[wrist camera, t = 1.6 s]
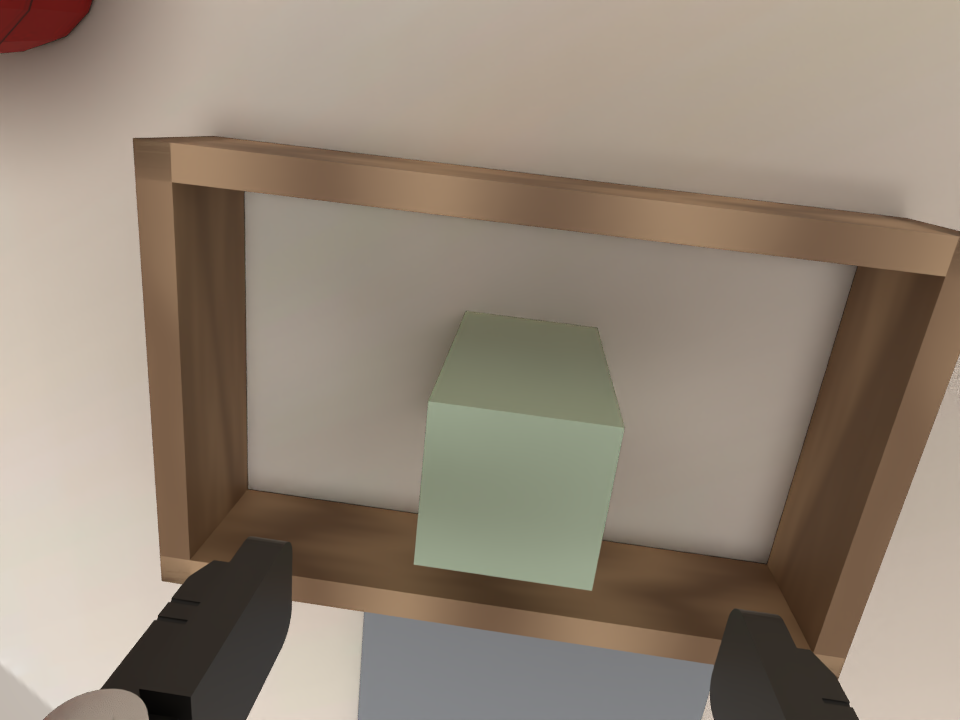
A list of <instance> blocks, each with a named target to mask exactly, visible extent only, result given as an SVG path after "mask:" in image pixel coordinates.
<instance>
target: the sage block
mask: <svg viewBox="0 0 960 720" xmlns="http://www.w3.org/2000/svg"><path fill="white" fill-rule="evenodd" d="M623 433H624V424H623V420H622V417H621V413H620V409H619V406H618V402H617V398H616V395H615V391H614V387H613V384H612V380H611V376H610V373H609V369H608V365H607V362H606V358H605V354H604V351H603V347H602V344H601V340H600V336H599V333H598V329H597V328H594V327H586V326H579V325H571V324H563V323H555V322H548V321H540V320H532V319H524V318H517V317H509V316H501V315H493V314H486V313H478V312H470V311H466V312H465V315H464V317H463V319H462V322H461V324H460V327H459V329H458V331H457V334H456V336H455V338H454V341H453V343H452V346H451V348H450V350H449V353H448V355H447V358H446V360H445V362H444V365H443V367H442V370H441V372H440V374H439V377H438V379H437V381H436V384H435V386H434V389H433V391H432V393H431V396H430V398H429V401H428V409H427V420H426V432H425V443H424V454H423V466H422V477H421V488H420V499H419V511H418V522H417V533H416V544H415V556H414V565H420V566H427V567H434V568H441V569H448V570H454V571H461V572H468V573H475V574H481V575H488V576H495V577H502V578H508V579H515V580H522V581H529V582H536V583H542V584H549V585H556V586H563V587H569V588H576V589H583V590H590V591H592V588H593V583H594V578H595V573H596V568H597V563H598V558H599V553H600V548H601V543H602V538H603V533H604V528H605V523H606V518H607V513H608V508H609V503H610V498H611V493H612V488H613V483H614V478H615V473H616V468H617V463H618V458H619V453H620V448H621V443H622V438H623Z"/></svg>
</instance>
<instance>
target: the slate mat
mask: <svg viewBox="0 0 960 720" xmlns="http://www.w3.org/2000/svg"><path fill="white" fill-rule="evenodd" d="M713 668H714V665H712V664H705V663H698V662H692V661H685V660H679V659H672V658H665V657H659V656H652V655H646V654H639V653H633V652H626V651H619V650H613V649H606V648H600V647H593V646H586V645H580V644H573V643H567V642H560V641H554V640H547V639H540V638H534V637H527V636H521V635H514V634H507V633H501V632H494V631H488V630H481V629H475V628H468V627H461V626H455V625H448V624H442V623H435V622H428V621H422V620H415V619H409V618H402V617H395V616H389V615H382V614H376V613H369V612H364V625H363V641H362V658H361V674H360V691H359V707H358V720H701V719H702V715H703V712H704V709H705V705H706V702H707V698H708V695H709V691H710V682H711V676H712V672H713Z"/></svg>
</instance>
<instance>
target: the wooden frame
mask: <svg viewBox="0 0 960 720" xmlns="http://www.w3.org/2000/svg"><path fill="white" fill-rule="evenodd" d="M133 148H134V164H135V179H136V194H137V210H138V225H139V240H140V255H141V271H142V286H143V301H144V317H145V332H146V347H147V362H148V378H149V393H150V408H151V424H152V439H153V454H154V469H155V485H156V500H157V515H158V531H159V546H160V561H161V576H162V581H165V582H172V583H178V584H183V583H184V582H185V580H186V579H187V578H188V577H189V576H190V575H192V574H193V573H195V572H196V571H198V570H199V569H201V568H203V567H204V566H206V565H207V564H209V563H210V562H212V561H213V560H217V561H224V562H230V561H231V559H232V558H233V556H234V555H235V554H236V552H237V551H238V549H239V548H240V547H241V545H242V544H243V542H244V541H245V540H246V539H247V538H248V537H250V536H254V537H260V538H267V539H274V540H281V541H288V542H290V543H291V545H292V551H293V558H292V601H297V602H303V603H310V604H316V605H323V606H330V607H336V608H343V609H349V610H356V611H363V612H369V613H376V614H382V615H389V616H395V617H402V618H409V619H415V620H422V621H428V622H435V623H442V624H448V625H455V626H461V627H468V628H475V629H481V630H488V631H494V632H501V633H507V634H514V635H521V636H527V637H534V638H540V639H547V640H554V641H560V642H567V643H573V644H580V645H586V646H593V647H600V648H606V649H613V650H619V651H626V652H633V653H639V654H646V655H652V656H659V657H665V658H672V659H679V660H685V661H692V662H698V663H705V664H712V665H715V661H716V658H717V654H718V651H719V648H720V644H721V641H722V637H723V634H724V630H725V627H726V624H727V620H728V617H729V615H730V613H731V611H732V610H733V609H735V608H737V609H743V610H750V611H757V612H764V613H771V614H777V615H779V616H780V617H781V618H782V619H783V621H784V623H785V625H786V627H787V629H788V631H789V633H790V635H791V637H792V639H793V641H794V643H795V645H796V647H797V648H801V649H808V650H811V651H812V652H813V653H814V654H815V655H816V656H817V657H818V658H819V659H820V660H821V661H822V662H823V663H824V664H825V665H826V666H827V667H828V668H829V669H830V670H831V671H832V672H833V673H834V674H835V676H836V678H837V680H838V678H839V675H840V673H841V670H842V667H843V665H844V662H845V659H846V657H847V654H848V651H849V648H850V646H851V643H852V640H853V638H854V635H855V632H856V630H857V627H858V624H859V622H860V619H861V616H862V614H863V611H864V608H865V606H866V603H867V600H868V598H869V595H870V592H871V590H872V587H873V584H874V582H875V579H876V576H877V573H878V571H879V568H880V565H881V563H882V560H883V557H884V555H885V552H886V549H887V547H888V544H889V541H890V539H891V536H892V533H893V531H894V528H895V525H896V523H897V520H898V517H899V515H900V512H901V509H902V507H903V504H904V501H905V499H906V496H907V493H908V490H909V488H910V485H911V482H912V480H913V477H914V474H915V472H916V469H917V466H918V464H919V461H920V458H921V456H922V453H923V450H924V448H925V445H926V442H927V440H928V437H929V434H930V432H931V429H932V426H933V424H934V421H935V418H936V415H937V413H938V410H939V407H940V405H941V402H942V399H943V397H944V394H945V391H946V389H947V386H948V383H949V381H950V378H951V375H952V373H953V370H954V367H955V365H956V362H957V359H958V357H959V354H960V231H956V230H952V229H948V228H944V227H940V226H936V225H932V224H928V223H924V222H920V221H916V220H912V219H908V218H901V217H893V216H884V215H876V214H867V213H859V212H850V211H842V210H833V209H825V208H816V207H808V206H799V205H791V204H783V203H774V202H766V201H757V200H749V199H740V198H732V197H723V196H715V195H706V194H698V193H690V192H681V191H673V190H664V189H656V188H647V187H639V186H630V185H622V184H613V183H605V182H597V181H588V180H580V179H571V178H563V177H554V176H546V175H537V174H529V173H520V172H512V171H504V170H495V169H487V168H478V167H470V166H461V165H453V164H444V163H436V162H427V161H419V160H411V159H402V158H394V157H385V156H377V155H368V154H360V153H351V152H343V151H334V150H326V149H317V148H309V147H301V146H292V145H284V144H275V143H267V142H258V141H250V140H241V139H233V138H224V137H216V136H201V137H161V138H133ZM244 191H249V192H257V193H265V194H273V195H281V196H289V197H298V198H306V199H314V200H322V201H330V202H339V203H347V204H355V205H363V206H371V207H380V208H388V209H396V210H404V211H412V212H421V213H429V214H437V215H445V216H453V217H462V218H470V219H478V220H486V221H494V222H503V223H511V224H519V225H527V226H535V227H543V228H552V229H560V230H568V231H576V232H584V233H593V234H601V235H609V236H617V237H625V238H634V239H642V240H650V241H658V242H666V243H675V244H683V245H691V246H699V247H707V248H716V249H724V250H732V251H740V252H748V253H757V254H765V255H773V256H781V257H789V258H797V259H806V260H814V261H822V262H830V263H838V264H847V265H855V266H858V267H857V270H856V274H855V277H854V280H853V284H852V287H851V290H850V294H849V297H848V300H847V303H846V307H845V310H844V313H843V317H842V320H841V323H840V326H839V330H838V333H837V336H836V340H835V343H834V346H833V349H832V353H831V356H830V359H829V363H828V366H827V369H826V372H825V376H824V379H823V382H822V386H821V389H820V392H819V395H818V399H817V402H816V405H815V409H814V412H813V415H812V418H811V422H810V425H809V428H808V432H807V435H806V438H805V441H804V445H803V448H802V451H801V455H800V458H799V461H798V465H797V468H796V471H795V474H794V478H793V481H792V484H791V488H790V491H789V494H788V497H787V501H786V504H785V507H784V511H783V514H782V517H781V520H780V524H779V527H778V530H777V534H776V537H775V540H774V543H773V547H772V550H771V553H770V557H769V560H768V563H767V564H761V563H754V562H747V561H740V560H733V559H726V558H719V557H713V556H706V555H699V554H692V553H685V552H678V551H671V550H664V549H657V548H650V547H643V546H636V545H629V544H622V543H615V542H608V541H602V543H601V548H600V553H599V558H598V563H597V568H596V573H595V578H594V583H593V588H592V591H590V590H583V589H576V588H569V587H563V586H556V585H549V584H542V583H536V582H529V581H522V580H515V579H508V578H502V577H495V576H488V575H481V574H475V573H468V572H461V571H454V570H448V569H441V568H434V567H427V566H420V565H414V556H415V544H416V533H417V522H418V514H414V513H407V512H400V511H393V510H386V509H379V508H373V507H366V506H359V505H352V504H345V503H338V502H331V501H324V500H317V499H310V498H303V497H296V496H289V495H282V494H275V493H268V492H262V491H255V490H248V480H247V396H246V312H245V228H244Z"/></svg>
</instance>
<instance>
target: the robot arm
mask: <svg viewBox="0 0 960 720" xmlns="http://www.w3.org/2000/svg"><path fill="white" fill-rule="evenodd" d="M292 558H293V551H292V545H291V543H290V542H288V541H281V540H274V539H267V538H260V537H254V536H250V537H248V538H247V539H246V540H245V541H244V542H243V544H242V545H241V547H240V548H239V549H238V551H237V552H236V554H235V555H234V556H233V558H232V559H231V561H230V562H224V561H217V560H213V561H212V562H210V563H209V564H207V565H206V566H204V567H203V568H201V569H199V570H198V571H196V572H195V573H193V574H192V575H190V576H189V577H188V578H187V579H186V580H185V582H184V583H183V584H182V586H181V587H180V588H179V589H178V591H177V592H176V593H175V595H174V596H173V597H172V600H171V602H168V603H167V605H166V606H165V607H164V609H163V610H162V611H161V612H160V614H159V615H158V618H157V620H154V621H153V623H152V624H151V625H150V626H149V628H148V629H147V630H146V632H145V633H144V634H143V635H142V637H141V638H140V639H139V641H138V642H137V643H136V644H135V646H134V647H133V648H132V649H131V651H130V652H129V653H128V655H127V656H126V657H125V658H124V660H123V661H122V662H121V664H120V665H119V666H118V667H117V669H116V670H115V671H114V672H113V674H112V675H111V676H110V678H109V679H108V680H107V681H106V683H105V684H104V685H103V687H102V688H101V689H100V690H95V691H91V692H87V693H84V694H82V695H79V696H76V697H74V698H72V699H70V700H68V701H66V702H65V703H63V704H62V705H60V706H58V707H57V708H56V709H55V710H53V711H52V712H51V713H50V714H48V716H46V717H45V718H44V719H43V720H246V719H247V717H248V715H249V713H250V711H251V709H252V707H253V705H254V703H255V701H256V699H257V697H258V695H259V693H260V691H261V689H262V687H263V685H264V683H265V680H266V678H267V676H268V674H269V672H270V670H271V668H272V666H273V664H274V662H275V660H276V658H277V656H278V654H279V652H280V650H281V648H282V646H283V644H284V641H285V639H286V636H287V632H288V628H289V624H290V619H291V611H292ZM710 703H711V710H712V714H713V718H714V720H859V719H858V717H857V715H856V713H855V711H854V709H853V708H852V707H850V706H849V703H850V702H849V700H848V698H847V696H846V695H845V693H844V691H843V689H842V687H841V685H840V683H839V682H838V680H837V678H836V676H835V674H834V673H833V672H832V671H831V670H830V669H829V668H828V667H827V666H826V665H825V664H824V663H823V662H822V661H821V660H820V659H819V658H818V657H817V656H816V655H815V654H814V653H813V652H812V651H811V650H808V649H801V648H797V647H796V645H795V643H794V641H793V639H792V637H791V635H790V633H789V631H788V629H787V627H786V625H785V623H784V621H783V619H782V618H781V617H780V616H779V615H777V614H771V613H764V612H757V611H750V610H743V609H737V608H735V609H733V610H732V611H731V613H730V615H729V617H728V620H727V624H726V627H725V630H724V634H723V637H722V641H721V644H720V648H719V651H718V654H717V658H716V661H715V665H714V668H713V672H712V676H711V682H710Z"/></svg>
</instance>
